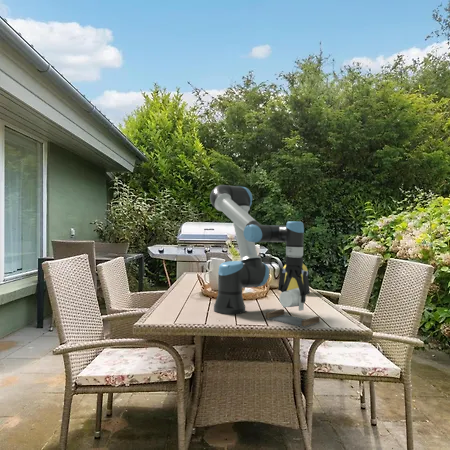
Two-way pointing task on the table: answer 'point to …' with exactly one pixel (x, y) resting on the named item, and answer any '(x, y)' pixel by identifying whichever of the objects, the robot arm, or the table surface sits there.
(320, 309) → the table surface
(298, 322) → the drying mat
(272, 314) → the mat rails
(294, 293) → the white cup
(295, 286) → the vase
